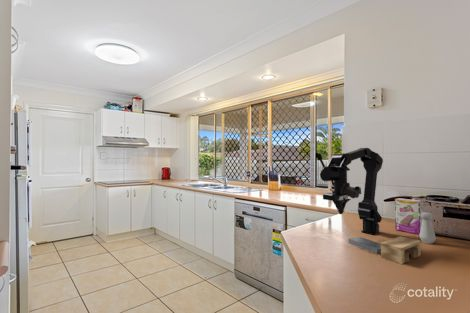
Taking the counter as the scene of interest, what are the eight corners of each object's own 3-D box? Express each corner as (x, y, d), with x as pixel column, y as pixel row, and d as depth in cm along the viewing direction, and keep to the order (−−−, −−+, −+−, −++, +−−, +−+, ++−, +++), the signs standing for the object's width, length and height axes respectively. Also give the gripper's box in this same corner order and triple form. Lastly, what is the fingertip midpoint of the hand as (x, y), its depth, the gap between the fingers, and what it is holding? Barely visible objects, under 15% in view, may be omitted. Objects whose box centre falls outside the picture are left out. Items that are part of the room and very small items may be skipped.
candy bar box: (395, 230, 128) (394, 198, 129) (399, 228, 131) (398, 198, 132) (420, 235, 119) (419, 201, 119) (424, 233, 122) (423, 200, 122)
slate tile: (348, 244, 108) (348, 238, 108) (360, 242, 111) (360, 236, 111) (377, 255, 95) (377, 249, 95) (389, 252, 97) (389, 246, 98)
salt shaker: (439, 244, 105) (438, 214, 105) (423, 244, 106) (423, 214, 107) (431, 240, 111) (430, 211, 111) (416, 239, 112) (416, 211, 112)
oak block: (381, 257, 91) (380, 242, 91) (400, 249, 99) (400, 236, 99) (401, 264, 85) (401, 248, 85) (420, 255, 93) (420, 240, 93)
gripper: (344, 182, 102) (344, 220, 102) (368, 180, 112) (369, 214, 112) (321, 181, 112) (322, 215, 111) (346, 179, 122) (346, 210, 121)
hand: (341, 214), depth 114 cm, fingers closed
